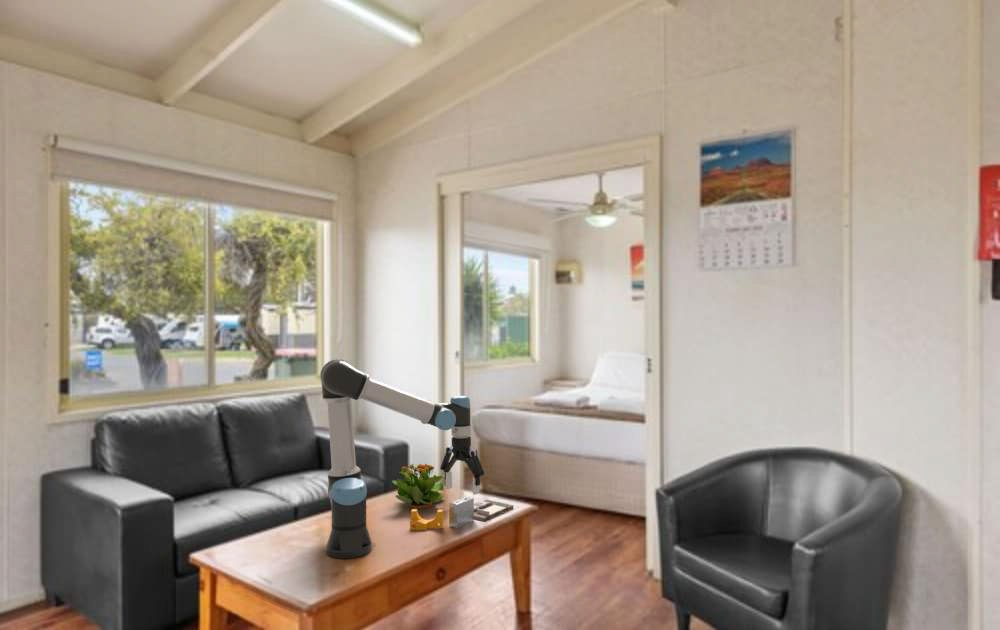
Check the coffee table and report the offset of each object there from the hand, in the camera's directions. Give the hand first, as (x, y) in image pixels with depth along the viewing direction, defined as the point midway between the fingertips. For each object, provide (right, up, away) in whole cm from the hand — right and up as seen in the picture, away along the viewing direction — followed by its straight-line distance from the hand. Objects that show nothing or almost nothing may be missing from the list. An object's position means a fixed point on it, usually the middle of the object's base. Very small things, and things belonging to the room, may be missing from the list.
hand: (462, 491), depth 237 cm
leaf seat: (+12, -11, +12) cm, 20 cm away
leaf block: (0, -13, 0) cm, 13 cm away
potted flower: (-19, -13, +23) cm, 32 cm away
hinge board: (+9, -13, +15) cm, 21 cm away
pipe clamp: (-13, -13, -5) cm, 19 cm away
